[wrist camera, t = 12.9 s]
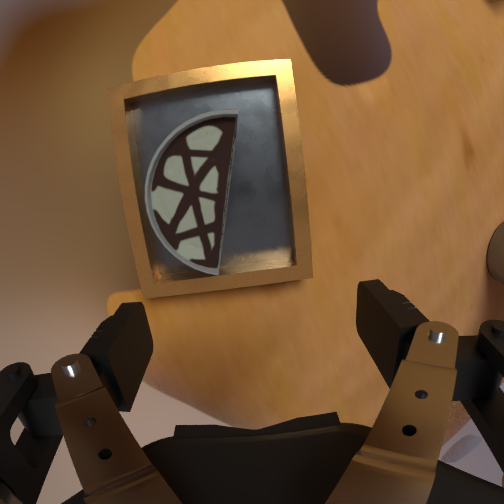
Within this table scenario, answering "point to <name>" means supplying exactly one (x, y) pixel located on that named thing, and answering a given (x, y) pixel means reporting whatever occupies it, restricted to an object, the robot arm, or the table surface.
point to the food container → (193, 188)
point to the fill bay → (242, 176)
